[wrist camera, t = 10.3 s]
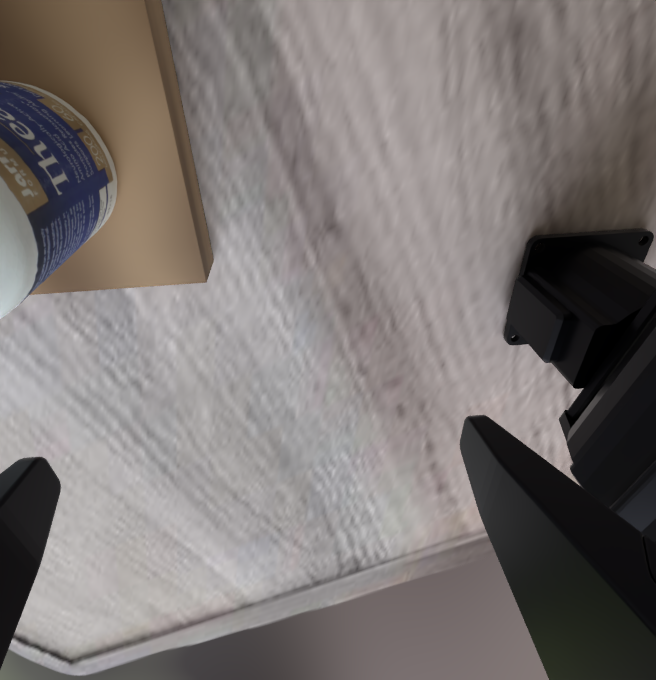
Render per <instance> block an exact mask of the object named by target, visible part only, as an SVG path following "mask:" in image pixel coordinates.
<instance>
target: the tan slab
mask: <svg viewBox="0 0 656 680" xmlns="http://www.w3.org/2000/svg"><path fill="white" fill-rule="evenodd" d="M0 81H12V82H19V83H24V84H28V85H32V86H35V87H38V88H40V89H43V90H45V91H47V92H50V93H52V94H53V95H55V96H57V97H59V98H60V99H62V100H63V101H65V102H66V103H68V104H69V105H71V106H72V107H73V108H74V109H75V110H76V111H77V112H79V113H80V114H81V115H82V116H84V117H85V118H86V119H87V120H88V121H89V123H90V124H91V125H92V126H93V128H94V129H95V130H96V132H97V133H98V134H99V136H100V137H101V139H102V141H103V142H104V144H105V146H106V147H107V149H108V151H109V154H110V156H111V158H112V160H113V163H114V166H115V170H116V175H117V197H116V202H115V206H114V209H113V211H112V213H111V215H110V217H109V218H108V220H107V221H106V222H105V224H104V225H103V226H102V227H101V228H100V229H99V230H98V231H97V232H96V233H95V234H94V235H93V236H92V237H91V238H90V239H89V240H88V241H87V242H86V243H84V244H83V245H82V246H81V247H80V248H79V249H78V250H77V251H76V252H75V253H74V254H73V255H72V256H70V257H69V258H68V259H67V260H66V261H65V262H64V263H63V264H62V265H61V266H60V267H59V268H58V269H56V270H55V271H54V272H53V273H52V274H51V275H50V276H49V277H48V278H47V279H46V280H45V281H44V282H43V283H42V284H40V285H39V286H38V287H37V288H36V289H35V290H34V291H33V292H32V293H31V294H30V295H34V294H48V293H62V292H77V291H91V290H105V289H119V288H134V287H148V286H162V285H176V284H191V283H205V282H207V279H208V276H209V273H210V270H211V267H212V264H213V261H214V259H213V254H212V250H211V245H210V240H209V235H208V230H207V225H206V220H205V215H204V210H203V205H202V200H201V195H200V190H199V185H198V180H197V175H196V171H195V166H194V161H193V156H192V151H191V146H190V141H189V136H188V131H187V126H186V121H185V116H184V111H183V106H182V101H181V96H180V92H179V87H178V82H177V77H176V72H175V67H174V62H173V57H172V52H171V47H170V42H169V37H168V32H167V27H166V22H165V17H164V12H163V8H162V3H161V0H0Z"/></svg>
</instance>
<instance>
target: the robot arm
mask: <svg viewBox="0 0 656 680" xmlns="http://www.w3.org/2000/svg"><path fill="white" fill-rule="evenodd" d="M642 237H643V238H642ZM641 238H642V240H641V241H639V240H640V239H641ZM653 238H654V235H653V233H652V232H650V231H648V230H646V229H629V230H614V231H599V232H584V233H569V234H554V235H539V236H535V237H533V238H531V239H530V240H529V242H528V243H527V246H526V250H525V253H524V257H523V261H522V265H521V269H520V273H519V277H518V278H517V279H516V282H515V286H514V290H513V294H512V297H511V301H510V305H509V309H508V313H507V324H506V328H505V332H504V339H505V341H506V342H507V343H508V344H509V345H523V344H529V345H530V346H531V347H532V349H533V350H534V351H535V352H536V353H537V354H538V356H539V357H540V358H541V359H542V360H543V361H544V362H545V363H552V364H553V365H554V366H555V367H556V368H557V369H558V371H559V372H560V373H561V374H562V375H563V376H564V377H565V378H566V379H567V381H568V382H569V383H570V384H571V385H572V386H573V387H574V388H576V389H580V388H584V389H583V390H582V391H581V393H580V394H579V396H578V397H577V398H576V400H575V401H574V402H573V404H572V405H571V407H570V408H569V409H568V410H565V411H564V412H563V414H562V415H561V417H560V418H559V421H560V424H561V427H562V430H563V433H564V436H565V438H566V441H567V446H568V449H569V452H570V456H571V459H572V461H573V464H572V465H571V466H570V470H571V472H572V474H573V476H574V478H575V479H576V480H577V482H578V483H579V485H580V486H579V485H578V484H577V483H575V482H574V481H573V480H571V479H570V478H569V477H567V476H566V475H565V474H563V473H562V472H561V471H559V470H558V469H557V468H555V467H554V466H553V465H551V464H550V463H549V462H547V461H546V460H545V459H543V458H542V457H541V456H539V455H538V454H537V453H535V452H534V451H533V450H531V449H530V448H529V447H527V446H526V445H525V444H523V443H522V442H521V441H519V440H518V439H517V438H515V437H514V436H513V435H511V434H510V433H509V432H507V431H506V430H505V429H503V428H502V427H501V426H499V425H498V424H497V423H495V422H494V421H493V420H491V419H490V418H489V417H487V416H485V415H476V416H468V417H467V418H466V419H465V421H464V426H463V430H462V435H461V439H460V450H461V454H462V457H463V460H464V464H465V467H466V470H467V474H468V477H469V480H470V484H471V487H472V490H473V494H474V497H475V500H476V504H477V507H478V510H479V513H480V516H481V519H482V521H483V524H484V526H485V529H486V531H487V534H488V536H489V538H490V541H491V543H492V545H493V548H494V550H495V553H496V555H497V557H498V560H499V562H500V564H501V567H502V569H503V571H504V574H505V576H506V578H507V581H508V583H509V586H510V588H511V590H512V593H513V595H514V597H515V600H516V602H517V605H518V607H519V609H520V611H521V614H522V616H523V619H524V621H525V624H526V626H527V628H528V630H529V633H530V635H531V638H532V640H533V643H534V645H535V647H536V650H537V652H538V654H539V657H540V659H541V661H542V663H543V666H544V669H545V671H546V673H547V676H548V678H549V680H656V269H654V268H652V267H650V266H649V265H647V264H645V263H643V262H644V260H645V257H646V255H647V253H648V250H649V248H650V246H651V243H652V241H653ZM540 243H541V245H540V247H539V248H538V249H536V250H535V247H536V246H537V245H538V244H540ZM513 335H515V336H514V337H513V338H511V337H512V336H513ZM60 490H61V485H60V481H59V479H58V477H57V476H56V474H55V472H54V471H53V469H52V468H51V466H50V465H49V463H48V461H47V460H46V459H45V458H43V457H31V458H23V459H20V460H18V461H17V462H15V463H14V464H12V465H11V466H10V467H9V468H7V469H6V470H5V471H3V472H2V473H1V474H0V669H1V666H2V664H3V661H4V658H5V656H6V653H7V651H8V648H9V646H10V643H11V640H12V638H13V635H14V633H15V630H16V627H17V625H18V622H19V620H20V617H21V614H22V612H23V609H24V607H25V604H26V601H27V599H28V596H29V593H30V591H31V588H32V586H33V583H34V580H35V578H36V575H37V572H38V569H39V567H40V564H41V560H42V557H43V554H44V550H45V547H46V543H47V539H48V536H49V532H50V528H51V525H52V521H53V517H54V513H55V510H56V506H57V502H58V499H59V495H60Z"/></svg>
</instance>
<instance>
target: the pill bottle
mask: <svg viewBox="0 0 656 680" xmlns="http://www.w3.org/2000/svg"><path fill="white" fill-rule="evenodd" d="M116 197H117V175H116V170H115V166H114V163H113V160H112V158H111V156H110V154H109V151H108V149H107V147H106V146H105V144H104V142H103V141H102V139H101V137H100V136H99V134H98V133H97V132H96V130H95V129H94V128H93V126H92V125H91V124H90V123H89V121H88V120H87V119H86V118H85V117H84V116H82V115H81V114H80V113H79V112H77V111H76V110H75V109H74V108H73V107H72V106H71V105H69V104H68V103H66V102H65V101H63V100H62V99H60V98H59V97H57V96H55V95H53V94H52V93H50V92H47V91H45V90H43V89H40V88H38V87H35V86H32V85H28V84H24V83H19V82H12V81H0V319H1V318H2V317H4V316H5V315H7V314H8V313H9V312H11V311H12V310H13V309H14V308H15V307H17V306H18V305H19V304H21V303H22V301H23V300H24V299H25V298H26V297H27V296H29V295H30V294H31V293H32V292H33V291H34V290H35V289H36V288H37V287H38V286H39V285H40V284H42V283H43V282H44V281H45V280H46V279H47V278H48V277H49V276H50V275H51V274H52V273H53V272H54V271H55V270H56V269H58V268H59V267H60V266H61V265H62V264H63V263H64V262H65V261H66V260H67V259H68V258H69V257H70V256H72V255H73V254H74V253H75V252H76V251H77V250H78V249H79V248H80V247H81V246H82V245H83V244H84V243H86V242H87V241H88V240H89V239H90V238H91V237H92V236H93V235H94V234H95V233H96V232H97V231H98V230H99V229H100V228H101V227H102V226H103V225H104V224H105V222H106V221H107V220H108V218H109V217H110V215H111V213H112V211H113V209H114V206H115V202H116Z"/></svg>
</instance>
